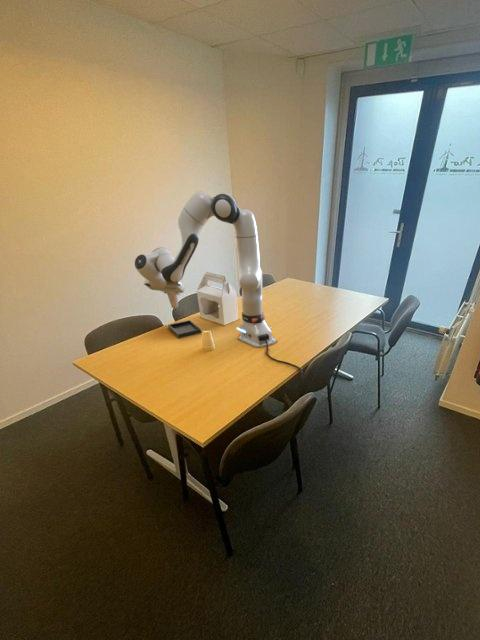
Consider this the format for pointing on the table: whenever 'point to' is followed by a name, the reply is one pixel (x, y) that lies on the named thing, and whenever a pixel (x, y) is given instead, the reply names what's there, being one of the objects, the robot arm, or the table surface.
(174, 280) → the robot arm
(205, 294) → the gable box
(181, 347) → the table surface
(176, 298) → the smoothie
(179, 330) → the tray
